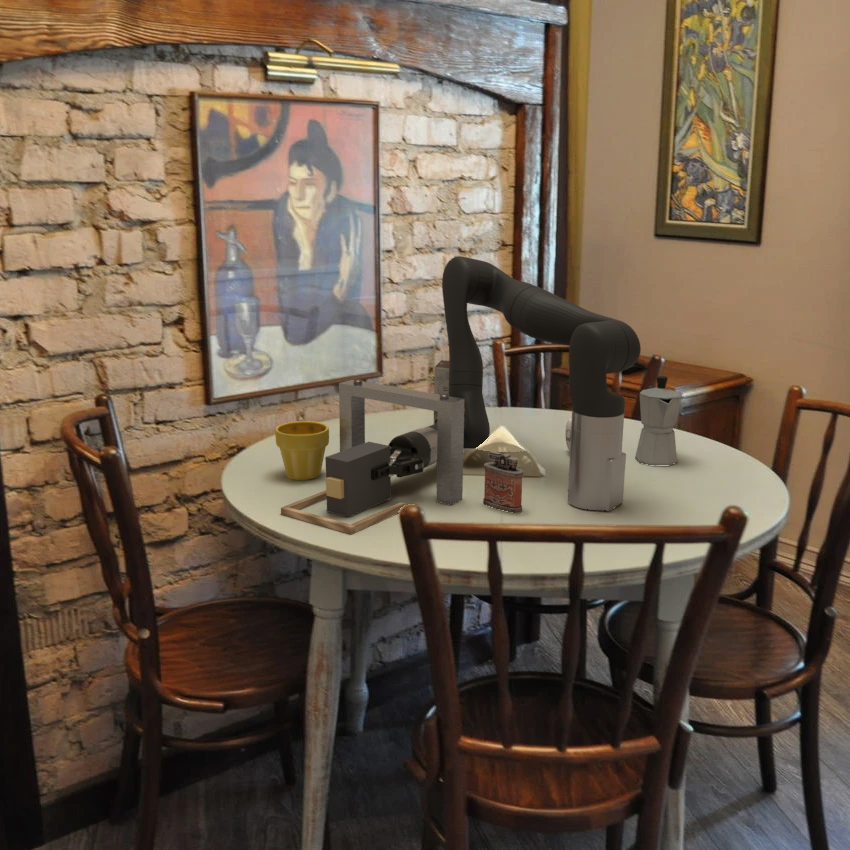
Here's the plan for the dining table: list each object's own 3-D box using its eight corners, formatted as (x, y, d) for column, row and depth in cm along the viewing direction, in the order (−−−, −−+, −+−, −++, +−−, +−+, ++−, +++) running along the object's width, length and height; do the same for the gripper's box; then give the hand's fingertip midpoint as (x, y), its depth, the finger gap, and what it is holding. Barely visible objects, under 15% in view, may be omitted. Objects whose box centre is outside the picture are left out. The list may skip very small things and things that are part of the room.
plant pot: (290, 486, 186) (289, 437, 184) (268, 472, 195) (266, 425, 192) (339, 477, 192) (338, 429, 189) (314, 464, 200) (313, 418, 198)
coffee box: (460, 438, 220) (462, 368, 216) (432, 436, 221) (433, 366, 217) (467, 428, 229) (468, 360, 224) (440, 426, 230) (440, 358, 226)
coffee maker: (684, 469, 199) (691, 383, 194) (641, 469, 199) (647, 382, 194) (666, 449, 213) (673, 368, 209) (626, 448, 213) (631, 367, 209)
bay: (405, 509, 174) (405, 503, 174) (351, 534, 163) (351, 527, 162) (336, 492, 183) (336, 485, 183) (280, 514, 172) (280, 507, 171)
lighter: (526, 510, 175) (528, 456, 172) (514, 514, 173) (516, 460, 170) (490, 499, 180) (492, 447, 178) (479, 504, 178) (480, 451, 175)
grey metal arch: (462, 499, 180) (464, 395, 175) (450, 505, 177) (451, 399, 172) (353, 473, 195) (352, 376, 190) (340, 478, 192) (338, 380, 187)
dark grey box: (390, 498, 180) (390, 446, 177) (344, 518, 169) (343, 463, 167) (369, 493, 182) (368, 441, 180) (323, 512, 172) (321, 458, 170)
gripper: (386, 425, 191) (329, 445, 178) (447, 437, 183) (391, 458, 170) (387, 462, 193) (330, 484, 180) (447, 475, 185) (392, 499, 172)
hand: (360, 471), depth 175 cm, fingers closed on dark grey box, 5 cm apart
